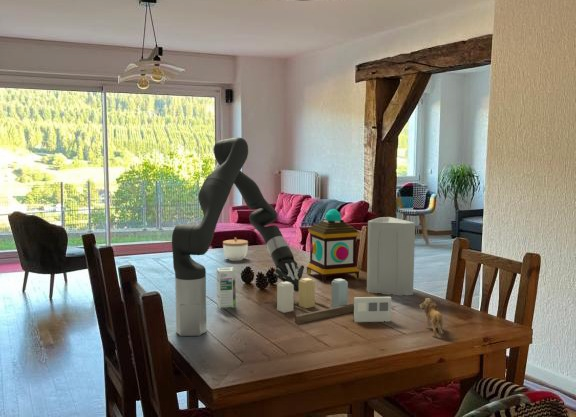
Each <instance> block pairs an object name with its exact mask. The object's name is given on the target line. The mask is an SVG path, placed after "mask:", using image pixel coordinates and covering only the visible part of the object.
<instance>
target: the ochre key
mask: <svg viewBox="0 0 576 417" xmlns="http://www.w3.org/2000/svg"><path fill="white" fill-rule="evenodd" d="M315 282H316V281H315V280H313V279H312V278H310V277H305V278H300V280H299V292H298V307H300V308H303V309H309V308H313V307H315V306H316V304H315V299H316V298H315V296H316V295H315V294H316V290H315V286H316V283H315Z"/></svg>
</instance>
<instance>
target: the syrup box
mask: <svg viewBox="0 0 576 417" xmlns="http://www.w3.org/2000/svg"><path fill="white" fill-rule="evenodd" d="M236 298H237V296H236V270H235V268H234V267H233V266H231V267H220V268H219V267H217V268H216V300H217V302H216V304H217V306H218V308H219V309H220V310H222V309H235V308H237V307H236V306H237V305H236V300H237V299H236Z"/></svg>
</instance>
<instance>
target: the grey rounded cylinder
mask: <svg viewBox="0 0 576 417" xmlns="http://www.w3.org/2000/svg"><path fill="white" fill-rule="evenodd" d="M348 287H349V282H348V281H347V280H346V279H343V278H334V279H333V280H331V292H330V293H331V294H330V295H331V298H330V299H331V301H330V304H331V306H330V307H332V308H334V307H339V306H344V305H349V304H348V298H349V297H348V295H349V294H348V292H349V288H348Z"/></svg>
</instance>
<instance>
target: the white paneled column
mask: <svg viewBox="0 0 576 417" xmlns="http://www.w3.org/2000/svg"><path fill="white" fill-rule="evenodd" d="M415 240H416V222H414V221H408V220H404V219H401V218H397V217H391V216H386V217H385V216H383V217H381V216H380V217H377V218H374V219H371V220H368V221H367V263H366V264H367V265H366V268H367V269H366V275H367V276H366V292H367V291H368V292H367V293H369V292H371V293H370V294H377V293H382V294H381V295H390V294H393V295H392V296H402V295H406V296H411V295H412V296H413V295H414V278H415V276H414V275H415V274H414V272H415Z"/></svg>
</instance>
